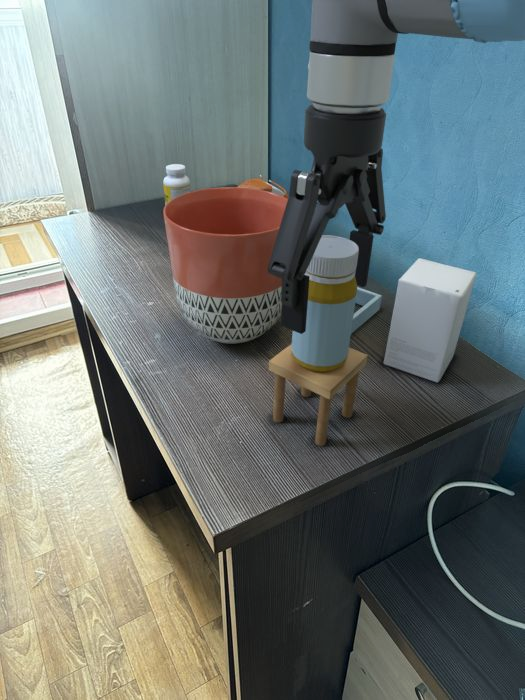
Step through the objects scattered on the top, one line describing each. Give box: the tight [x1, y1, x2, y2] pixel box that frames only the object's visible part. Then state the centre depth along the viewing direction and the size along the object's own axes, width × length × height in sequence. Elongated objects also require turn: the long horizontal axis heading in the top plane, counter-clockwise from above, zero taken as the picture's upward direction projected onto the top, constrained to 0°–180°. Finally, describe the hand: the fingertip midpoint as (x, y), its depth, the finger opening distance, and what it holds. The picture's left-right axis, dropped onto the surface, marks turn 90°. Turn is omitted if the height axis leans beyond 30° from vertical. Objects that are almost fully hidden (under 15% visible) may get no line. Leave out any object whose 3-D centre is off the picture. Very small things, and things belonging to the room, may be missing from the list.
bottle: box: [291, 234, 359, 372], centre depth 61 cm, size 7×7×15 cm
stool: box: [268, 343, 369, 447], centre depth 68 cm, size 9×9×10 cm
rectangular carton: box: [383, 257, 478, 383], centre depth 78 cm, size 9×9×15 cm
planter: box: [162, 186, 288, 345], centre depth 81 cm, size 20×20×21 cm
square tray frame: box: [351, 286, 383, 335], centre depth 93 cm, size 12×12×3 cm
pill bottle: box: [162, 163, 191, 205], centre depth 128 cm, size 6×6×12 cm
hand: (326, 304), depth 60 cm, fingers open, 13 cm apart
